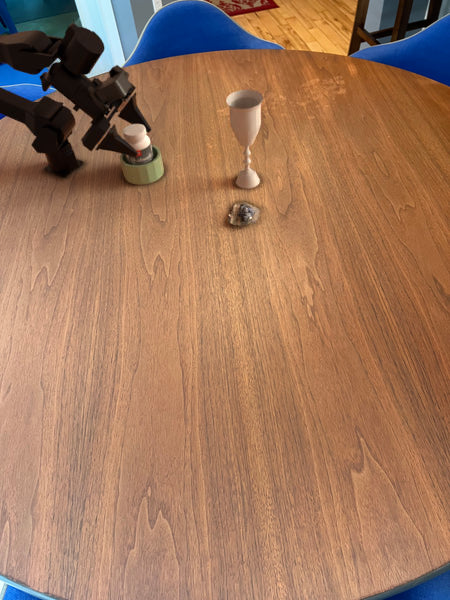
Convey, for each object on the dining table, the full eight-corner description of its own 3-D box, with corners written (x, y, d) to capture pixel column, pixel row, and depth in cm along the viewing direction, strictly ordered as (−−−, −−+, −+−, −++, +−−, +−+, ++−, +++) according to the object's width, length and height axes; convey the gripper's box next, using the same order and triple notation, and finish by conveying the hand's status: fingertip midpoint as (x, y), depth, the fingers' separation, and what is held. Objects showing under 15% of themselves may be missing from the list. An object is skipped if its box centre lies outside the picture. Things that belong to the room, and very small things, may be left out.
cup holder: (116, 177, 105) (111, 160, 102) (141, 157, 110) (137, 139, 107) (147, 189, 102) (142, 171, 98) (171, 167, 106) (168, 149, 103)
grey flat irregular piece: (230, 231, 91) (229, 223, 90) (222, 206, 96) (221, 198, 95) (264, 225, 92) (264, 217, 90) (255, 200, 97) (254, 192, 96)
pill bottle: (135, 181, 103) (124, 139, 96) (126, 168, 107) (116, 127, 99) (159, 173, 105) (151, 131, 97) (150, 160, 108) (141, 119, 100)
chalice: (261, 192, 98) (260, 109, 85) (228, 190, 100) (222, 108, 86) (266, 172, 103) (266, 90, 89) (235, 170, 104) (230, 88, 91)
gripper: (78, 83, 82) (151, 144, 89) (115, 39, 94) (177, 95, 100) (52, 124, 90) (121, 177, 96) (90, 78, 102) (149, 128, 108)
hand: (143, 142), depth 100 cm, fingers open, 9 cm apart
